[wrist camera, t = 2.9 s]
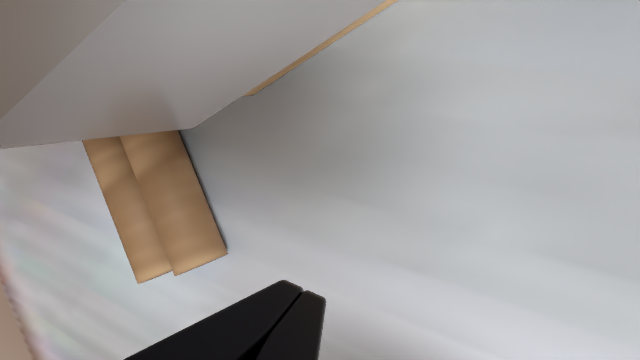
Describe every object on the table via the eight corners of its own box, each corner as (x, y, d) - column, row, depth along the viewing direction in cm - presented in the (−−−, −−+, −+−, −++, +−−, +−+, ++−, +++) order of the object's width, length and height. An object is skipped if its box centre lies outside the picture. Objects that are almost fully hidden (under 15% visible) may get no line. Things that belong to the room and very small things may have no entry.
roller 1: (199, 258, 26) (159, 273, 24) (167, 272, 28) (127, 288, 26) (128, 81, 27) (84, 82, 25) (101, 104, 28) (56, 106, 26)
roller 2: (238, 249, 25) (199, 264, 23) (203, 265, 26) (163, 280, 24) (162, 63, 26) (118, 62, 24) (132, 87, 27) (87, 88, 25)
